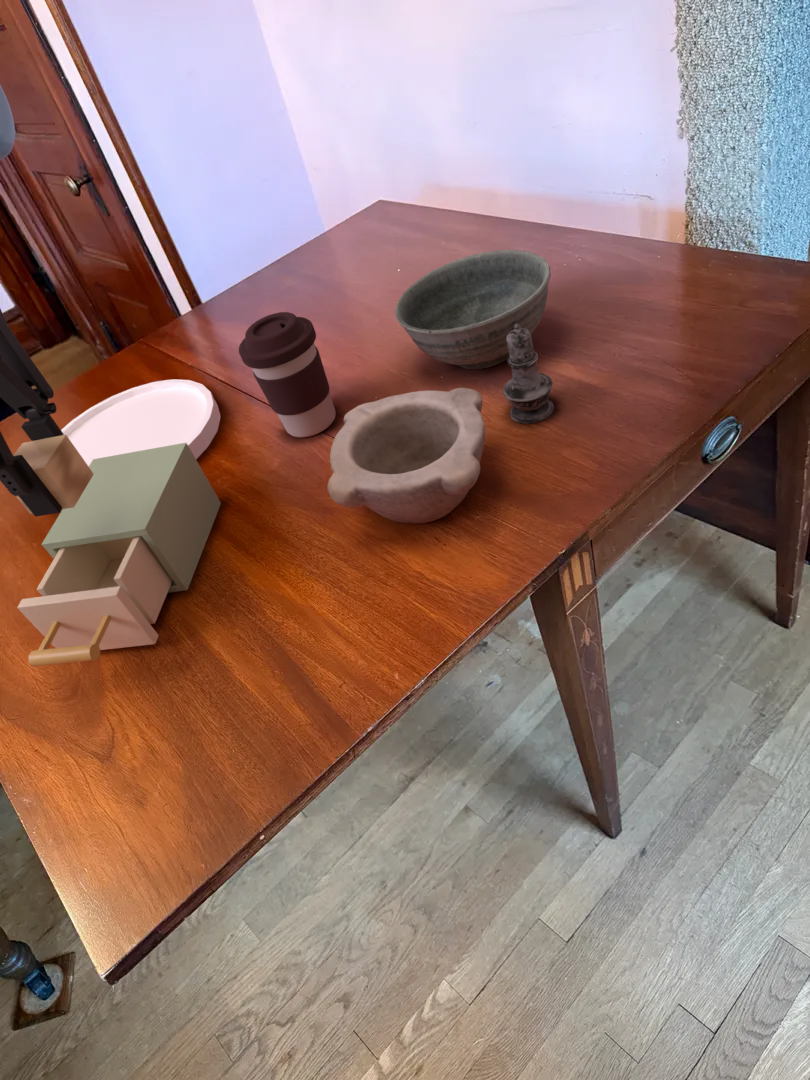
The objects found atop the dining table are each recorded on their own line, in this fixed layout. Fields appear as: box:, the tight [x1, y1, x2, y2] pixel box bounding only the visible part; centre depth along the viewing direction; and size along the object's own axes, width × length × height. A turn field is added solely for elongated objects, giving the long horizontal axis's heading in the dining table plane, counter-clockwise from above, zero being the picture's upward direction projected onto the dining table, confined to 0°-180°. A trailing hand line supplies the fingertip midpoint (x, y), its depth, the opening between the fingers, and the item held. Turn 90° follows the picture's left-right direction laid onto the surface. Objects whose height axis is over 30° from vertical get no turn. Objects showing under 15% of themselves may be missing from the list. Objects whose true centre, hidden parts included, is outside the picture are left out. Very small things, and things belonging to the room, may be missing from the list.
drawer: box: [17, 536, 173, 668], centre depth 80 cm, size 19×12×8 cm, turn 174°
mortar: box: [326, 387, 486, 525], centre depth 82 cm, size 17×17×9 cm
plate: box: [60, 378, 221, 466], centre depth 110 cm, size 28×28×2 cm
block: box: [13, 435, 94, 515], centre depth 72 cm, size 5×5×5 cm
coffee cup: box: [238, 311, 336, 438], centre depth 98 cm, size 10×10×15 cm
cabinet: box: [41, 443, 222, 594], centre depth 88 cm, size 15×13×10 cm
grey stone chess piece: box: [502, 323, 555, 425], centre depth 87 cm, size 6×6×12 cm
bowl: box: [394, 249, 552, 370], centre depth 101 cm, size 21×21×10 cm
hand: (60, 492), depth 73 cm, fingers closed on block, 5 cm apart
